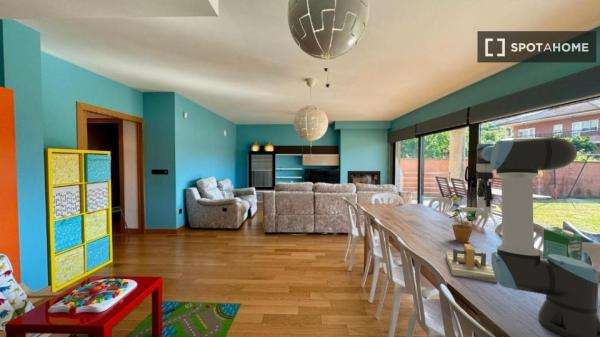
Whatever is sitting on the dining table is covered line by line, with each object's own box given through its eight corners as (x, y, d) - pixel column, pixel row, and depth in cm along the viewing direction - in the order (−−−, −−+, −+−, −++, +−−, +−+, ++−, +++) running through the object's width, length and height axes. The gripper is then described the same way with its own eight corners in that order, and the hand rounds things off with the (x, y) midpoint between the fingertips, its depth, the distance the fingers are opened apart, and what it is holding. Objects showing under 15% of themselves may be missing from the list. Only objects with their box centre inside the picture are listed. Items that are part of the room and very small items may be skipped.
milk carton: (566, 290, 109) (568, 233, 108) (542, 280, 118) (543, 227, 117) (580, 287, 111) (582, 231, 111) (555, 278, 120) (556, 226, 119)
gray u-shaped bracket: (485, 271, 127) (486, 254, 127) (453, 266, 133) (453, 249, 133) (484, 270, 129) (485, 252, 129) (452, 265, 135) (453, 248, 134)
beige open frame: (497, 282, 116) (497, 275, 116) (452, 275, 123) (452, 268, 123) (483, 262, 139) (483, 257, 139) (445, 257, 146) (446, 252, 146)
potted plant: (440, 238, 183) (441, 197, 182) (460, 236, 188) (461, 196, 187) (463, 246, 166) (464, 200, 165) (484, 243, 171) (485, 199, 170)
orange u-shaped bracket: (474, 267, 126) (474, 250, 126) (467, 266, 127) (467, 249, 127) (470, 261, 135) (470, 244, 134) (463, 260, 136) (464, 243, 135)
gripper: (500, 172, 124) (499, 215, 125) (486, 171, 147) (485, 206, 148) (482, 172, 127) (481, 214, 128) (471, 170, 150) (470, 206, 151)
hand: (483, 210), depth 138 cm, fingers open, 13 cm apart
